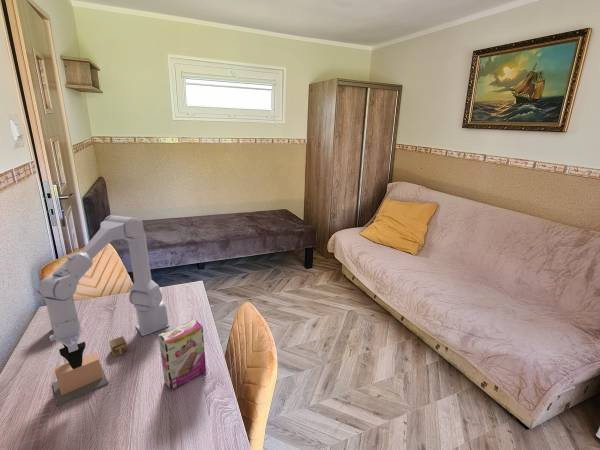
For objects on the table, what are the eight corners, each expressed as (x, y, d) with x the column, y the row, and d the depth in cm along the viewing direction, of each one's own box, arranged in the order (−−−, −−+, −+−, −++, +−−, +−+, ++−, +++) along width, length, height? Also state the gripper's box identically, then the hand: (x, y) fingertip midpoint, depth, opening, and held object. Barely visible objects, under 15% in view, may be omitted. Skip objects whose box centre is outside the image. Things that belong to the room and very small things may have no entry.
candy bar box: (171, 392, 91) (164, 343, 86) (164, 382, 94) (157, 334, 89) (207, 371, 98) (203, 325, 93) (199, 363, 102) (194, 318, 97)
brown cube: (124, 346, 109) (122, 336, 108) (127, 352, 106) (126, 342, 105) (111, 351, 107) (109, 340, 105) (114, 357, 104) (112, 347, 102)
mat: (100, 364, 101) (100, 363, 100) (108, 383, 93) (108, 382, 93) (53, 384, 93) (52, 383, 93) (57, 406, 86) (57, 405, 86)
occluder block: (99, 370, 98) (95, 352, 96) (102, 377, 95) (98, 359, 93) (59, 386, 91) (54, 368, 90) (61, 395, 89) (56, 376, 87)
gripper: (43, 311, 89) (54, 352, 93) (48, 336, 79) (61, 381, 83) (73, 302, 94) (83, 342, 98) (82, 325, 83) (92, 368, 87)
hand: (74, 359), depth 91 cm, fingers open, 7 cm apart
